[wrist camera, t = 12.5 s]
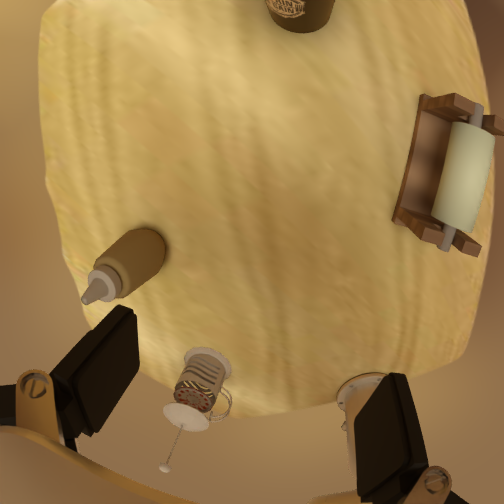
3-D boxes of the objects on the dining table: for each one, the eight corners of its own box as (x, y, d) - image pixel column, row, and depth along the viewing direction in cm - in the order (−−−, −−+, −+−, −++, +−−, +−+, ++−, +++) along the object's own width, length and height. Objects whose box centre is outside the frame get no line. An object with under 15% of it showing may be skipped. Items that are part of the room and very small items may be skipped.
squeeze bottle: (133, 265, 49) (70, 321, 32) (127, 221, 46) (54, 265, 29) (174, 270, 47) (118, 335, 31) (170, 223, 44) (103, 274, 28)
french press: (186, 340, 53) (129, 446, 30) (245, 358, 52) (211, 476, 29) (182, 373, 57) (135, 469, 34) (235, 389, 56) (204, 493, 33)
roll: (430, 237, 35) (466, 256, 31) (415, 240, 31) (456, 262, 27) (461, 106, 27) (501, 118, 23) (450, 91, 24) (495, 103, 19)
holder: (440, 235, 38) (474, 264, 28) (391, 220, 39) (418, 248, 28) (469, 117, 30) (512, 117, 20) (420, 95, 31) (456, 84, 21)
